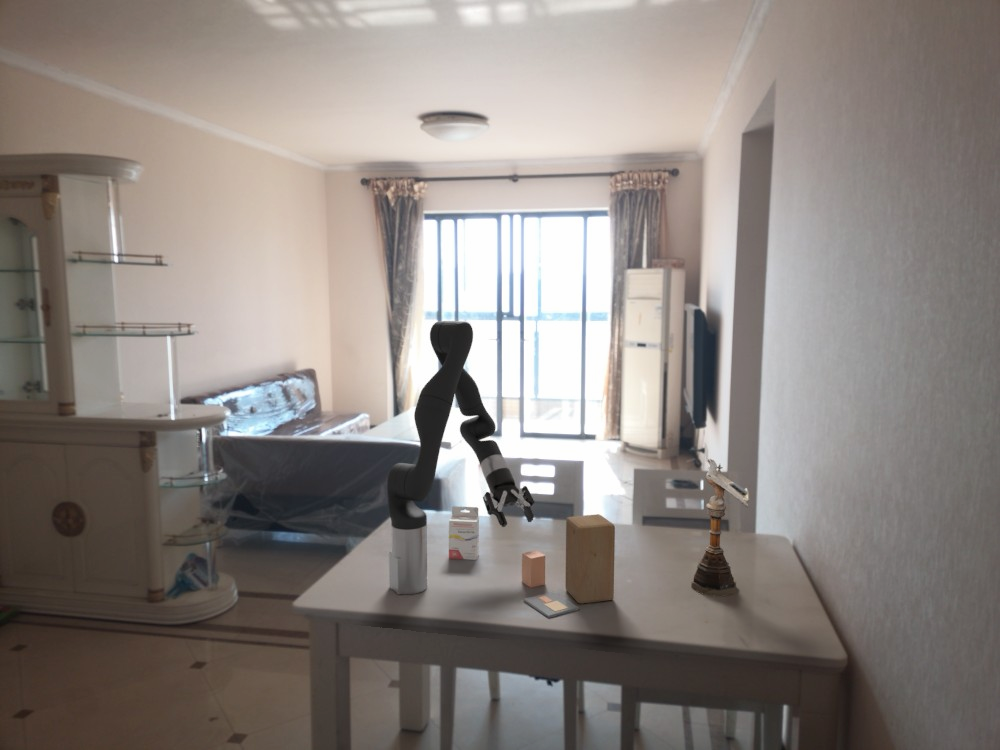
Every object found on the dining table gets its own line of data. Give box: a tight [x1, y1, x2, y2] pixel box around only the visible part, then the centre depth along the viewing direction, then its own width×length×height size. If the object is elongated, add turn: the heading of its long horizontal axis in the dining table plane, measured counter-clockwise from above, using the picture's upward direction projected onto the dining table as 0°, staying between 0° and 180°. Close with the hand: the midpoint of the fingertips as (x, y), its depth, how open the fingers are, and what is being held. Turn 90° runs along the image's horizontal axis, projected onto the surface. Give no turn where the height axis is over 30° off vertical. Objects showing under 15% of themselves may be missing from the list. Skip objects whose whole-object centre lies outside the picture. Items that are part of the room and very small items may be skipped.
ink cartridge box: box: [448, 505, 480, 561], centre depth 207 cm, size 9×5×15 cm, turn 84°
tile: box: [523, 591, 580, 619], centre depth 174 cm, size 9×11×1 cm
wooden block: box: [565, 514, 616, 604], centre depth 179 cm, size 10×10×20 cm
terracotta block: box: [521, 550, 546, 589], centre depth 188 cm, size 4×4×8 cm
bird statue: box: [690, 458, 750, 597], centre depth 184 cm, size 17×13×35 cm
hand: (518, 523), depth 194 cm, fingers open, 8 cm apart
